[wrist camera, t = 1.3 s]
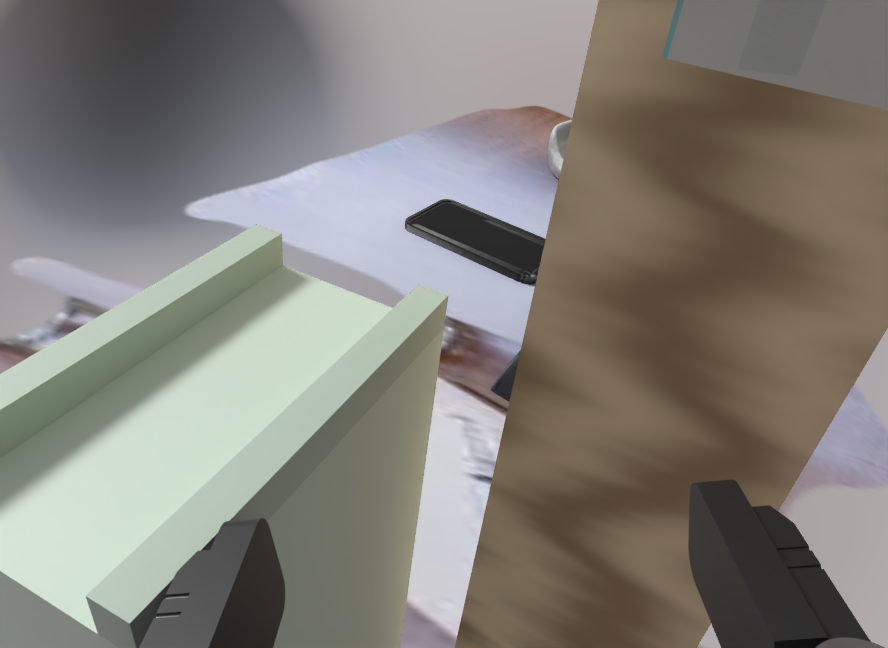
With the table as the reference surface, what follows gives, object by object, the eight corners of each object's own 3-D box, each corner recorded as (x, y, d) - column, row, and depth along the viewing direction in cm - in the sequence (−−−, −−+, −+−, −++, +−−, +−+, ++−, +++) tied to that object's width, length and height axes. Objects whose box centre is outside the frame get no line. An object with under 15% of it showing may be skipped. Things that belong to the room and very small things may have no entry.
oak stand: (433, 707, 33) (594, -67, 14) (551, 476, 45) (720, -96, 27) (610, 810, 30) (1097, 25, 11) (683, 535, 43) (974, -56, 24)
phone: (531, 280, 63) (400, 220, 69) (529, 290, 64) (399, 230, 70) (570, 248, 69) (446, 196, 75) (568, 258, 69) (445, 206, 76)
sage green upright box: (79, 859, 27) (-138, 455, 14) (276, 610, 36) (256, 223, 23) (225, 974, 25) (129, 623, 12) (395, 678, 34) (448, 295, 21)
